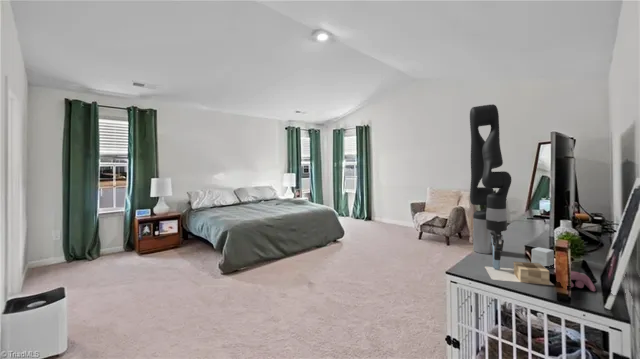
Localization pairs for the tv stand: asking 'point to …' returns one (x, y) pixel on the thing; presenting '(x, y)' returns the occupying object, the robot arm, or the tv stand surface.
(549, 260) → the product box
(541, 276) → the checkered wooden block
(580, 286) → the video game controller
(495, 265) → the dowel
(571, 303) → the tv stand surface
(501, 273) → the felt mat
